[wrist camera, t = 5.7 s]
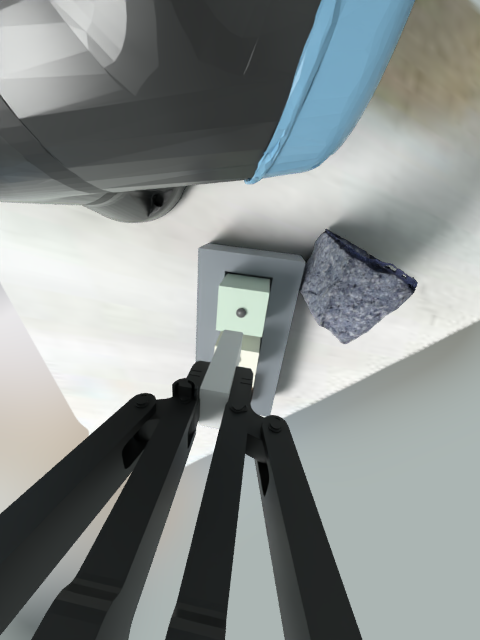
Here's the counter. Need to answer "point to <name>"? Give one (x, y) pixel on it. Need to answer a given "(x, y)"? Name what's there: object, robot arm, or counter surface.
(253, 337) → the tile two
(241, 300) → the tile one
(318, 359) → the counter surface
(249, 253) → the key board
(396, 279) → the stone
